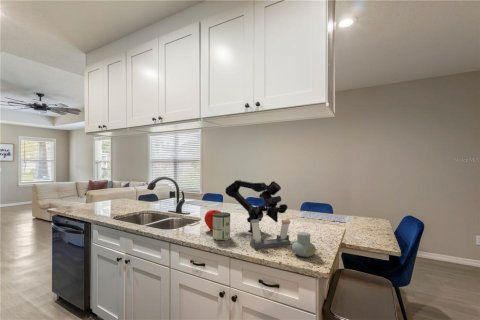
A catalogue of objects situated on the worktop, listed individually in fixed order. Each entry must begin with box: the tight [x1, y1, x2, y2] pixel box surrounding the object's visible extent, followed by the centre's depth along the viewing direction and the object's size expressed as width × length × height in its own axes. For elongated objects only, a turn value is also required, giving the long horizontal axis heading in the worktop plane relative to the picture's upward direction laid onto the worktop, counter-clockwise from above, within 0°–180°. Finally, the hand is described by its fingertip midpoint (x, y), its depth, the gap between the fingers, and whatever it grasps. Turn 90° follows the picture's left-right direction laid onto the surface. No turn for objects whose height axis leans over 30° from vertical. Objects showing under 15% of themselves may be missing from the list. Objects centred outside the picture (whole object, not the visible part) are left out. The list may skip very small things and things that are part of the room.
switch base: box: [249, 234, 292, 250], centre depth 126 cm, size 6×21×4 cm, turn 110°
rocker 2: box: [279, 218, 291, 239], centre depth 127 cm, size 2×4×11 cm, turn 110°
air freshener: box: [291, 231, 317, 258], centre depth 112 cm, size 11×8×10 cm
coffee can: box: [212, 211, 231, 241], centre depth 138 cm, size 10×10×14 cm
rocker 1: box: [251, 219, 262, 242], centre depth 125 cm, size 2×4×11 cm, turn 110°
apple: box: [204, 209, 222, 231], centre depth 155 cm, size 12×12×13 cm
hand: (276, 221), depth 135 cm, fingers closed
